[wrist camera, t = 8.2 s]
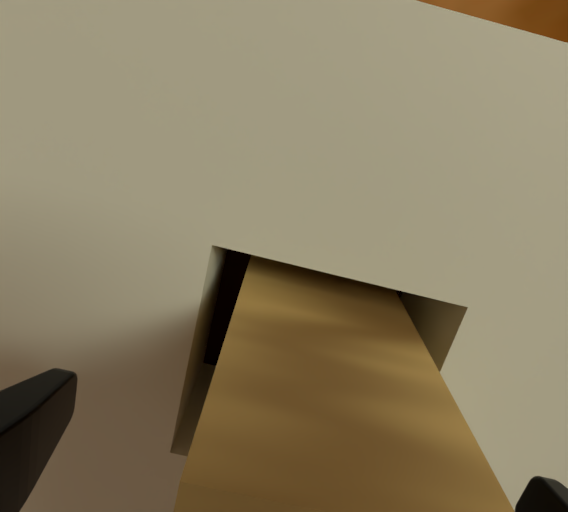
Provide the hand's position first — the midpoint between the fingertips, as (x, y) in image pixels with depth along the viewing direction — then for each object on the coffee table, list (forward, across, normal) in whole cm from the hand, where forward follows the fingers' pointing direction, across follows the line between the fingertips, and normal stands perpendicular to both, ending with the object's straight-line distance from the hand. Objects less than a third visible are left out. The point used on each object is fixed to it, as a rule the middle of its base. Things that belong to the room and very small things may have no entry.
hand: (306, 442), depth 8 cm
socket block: (+6, 0, 0) cm, 6 cm away
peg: (+6, 0, 0) cm, 6 cm away
